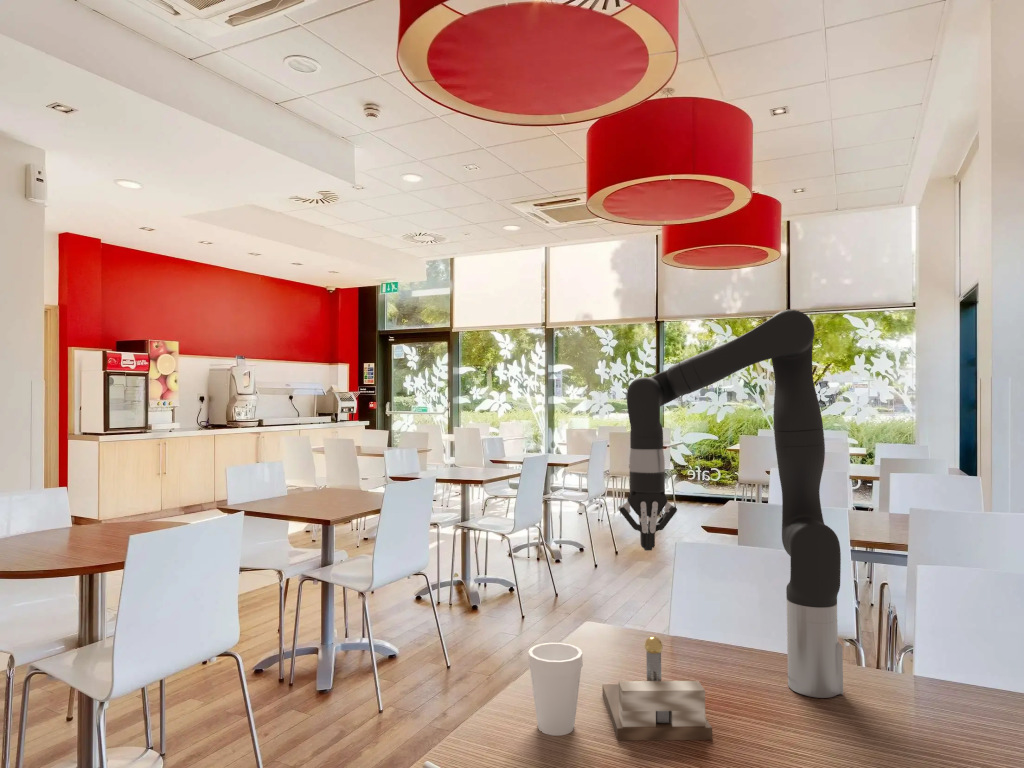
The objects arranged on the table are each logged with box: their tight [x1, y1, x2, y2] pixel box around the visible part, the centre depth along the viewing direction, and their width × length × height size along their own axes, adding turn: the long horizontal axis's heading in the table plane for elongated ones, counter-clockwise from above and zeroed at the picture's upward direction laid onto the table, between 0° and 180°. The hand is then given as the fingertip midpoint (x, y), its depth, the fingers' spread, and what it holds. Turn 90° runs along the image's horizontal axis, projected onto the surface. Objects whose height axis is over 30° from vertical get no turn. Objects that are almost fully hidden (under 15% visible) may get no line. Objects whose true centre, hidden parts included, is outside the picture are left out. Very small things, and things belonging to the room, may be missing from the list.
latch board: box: [601, 680, 713, 741], centre depth 123 cm, size 16×18×8 cm
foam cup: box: [527, 642, 584, 737], centre depth 119 cm, size 10×9×13 cm
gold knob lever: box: [644, 636, 669, 723], centre depth 120 cm, size 3×9×12 cm, turn 0°
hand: (647, 549), depth 147 cm, fingers closed
